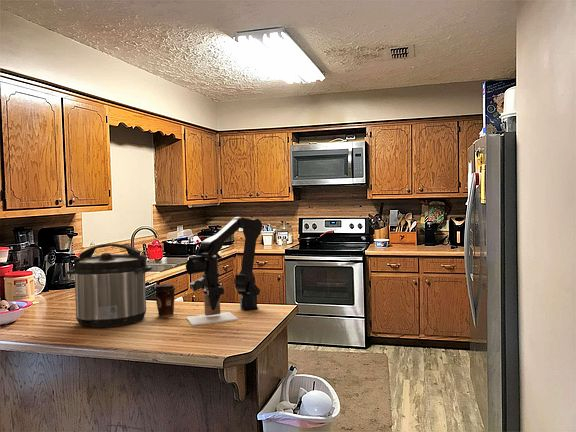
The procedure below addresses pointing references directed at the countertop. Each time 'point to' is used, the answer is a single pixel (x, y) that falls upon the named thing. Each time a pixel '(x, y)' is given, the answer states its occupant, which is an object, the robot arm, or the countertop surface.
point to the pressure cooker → (110, 287)
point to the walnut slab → (208, 307)
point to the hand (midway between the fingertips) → (212, 309)
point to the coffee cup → (165, 299)
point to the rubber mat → (211, 318)
